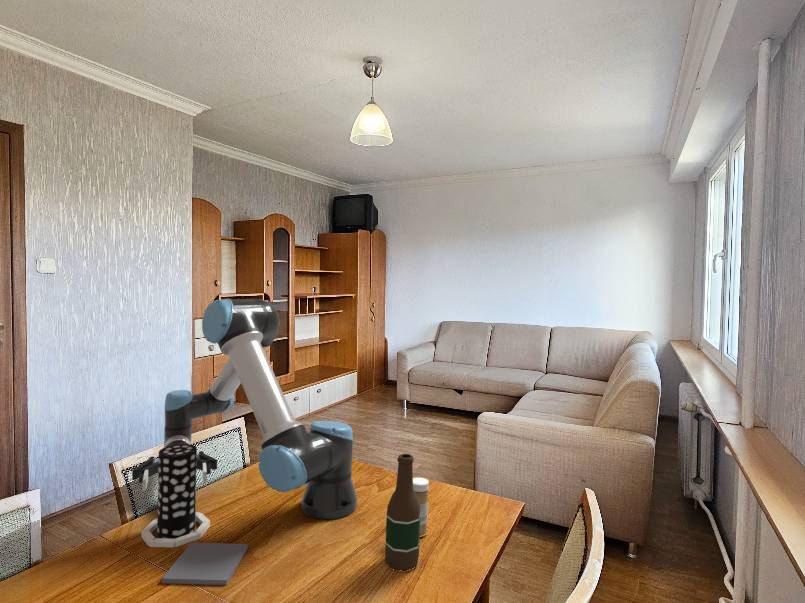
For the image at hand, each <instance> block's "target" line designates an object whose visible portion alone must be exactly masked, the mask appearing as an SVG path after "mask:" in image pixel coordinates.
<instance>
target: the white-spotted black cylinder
mask: <svg viewBox="0 0 805 603" xmlns="http://www.w3.org/2000/svg"><path fill="white" fill-rule="evenodd" d="M197 450H198V448H197V446H196V445H194V444H191V445H190V444H178V445H172V446H168V447H165V448H164V447H163V448H161V449H160V450H158V459H159V468H158V473H157V476H158V477H157V480H158V481H157V482H158V483H157V518H158V526H157V528H156V529H157V532H156V533H157V534H156V536H157V538H165V539H176V538H179V537H182V536H185V535H187V534H190V533H193V532H195V531H196V520H195V516H196V512H197V511H196V507H197V506H196V504H197V501H196V500H197V469H196V465H197V454H198V452H197Z"/></svg>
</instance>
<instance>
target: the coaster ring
mask: <svg viewBox="0 0 805 603" xmlns="http://www.w3.org/2000/svg"><path fill="white" fill-rule="evenodd" d="M195 521H196V522H198V523H199V527H198V528H197V529H195V530H194V532H193V533H190V534H187V535H185V536H182V537H179V538H176V539H165V538H159V537H155V536H154V535H153V532H154V531H155V530H156V529H157V526H158V517H156V518H155V519H153V520H152V521H151V522H150V523H149V524H148V525H146V527H145V528H144V529H142V530H141V533H140V534H141V535H140V536H141V539H142V540H143V541H144V542H145V544H146V545H147V546H148V547H150V548H170V549H171V548H177V547H179V546H180V547H181V546H183V545H186V544H190V543H192V542H193V541H197V540H199V539H201V538H202V537H203V536H204V534H205V533H206V532H207V530H208V529H209V528H210V527H211V520H210V519H209V518H208V517H206V516H205V514H203V513H202V512H199V511H198V512H197V511H196V516H195Z"/></svg>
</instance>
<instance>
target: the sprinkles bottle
mask: <svg viewBox="0 0 805 603" xmlns="http://www.w3.org/2000/svg"><path fill="white" fill-rule="evenodd" d="M429 483H430V481H429V480H428V479H427V478H424V477H413V488H414V492H415V493H416V495H417V497H418V499H419V502H420V509H421V516H420V536H422V535H424V534H426V532H427V533H428V531H427V530H428V528H427V526H428V513H429V510H428V508H429V500H428V497H429V495H428V494H429V490H430V489H429V488H430V484H429Z"/></svg>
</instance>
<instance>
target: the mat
mask: <svg viewBox="0 0 805 603" xmlns="http://www.w3.org/2000/svg"><path fill="white" fill-rule="evenodd" d="M248 549H249V544H248V543H221V542H220V543H218V542H217V543H215V542H190V543H189V544H188V546H187V547H186V548H185V550H183V552H182V553H181V555H180V556H179V557H178V558H177V559H176V560H175V562H174V563H173V565H172V566H171V567H170V568H169V569H168V571H167V572H166V573H165V574H164V575H163V576H162V578H161V583H162V584H175V585H176V584H178V585H183V584H184V585H211V586H212V585H216V586H217V585H218V586H219V585H220V586H227V585H228V583H229V581H230V580H231V578H232V577H233V575H234V573H235V571H236V570H237V568H238V566H239V565H240V563H241V561H242V559H243V557H244V556H245V554H246V552H247V551H248Z"/></svg>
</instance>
